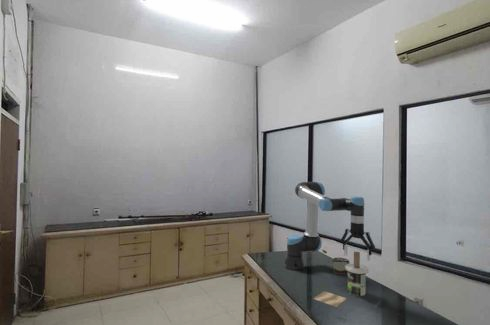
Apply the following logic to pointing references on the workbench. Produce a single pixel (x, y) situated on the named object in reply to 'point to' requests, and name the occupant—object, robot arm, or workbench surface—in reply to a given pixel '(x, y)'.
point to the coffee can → (356, 284)
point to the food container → (340, 265)
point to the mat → (330, 298)
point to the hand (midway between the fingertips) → (356, 257)
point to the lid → (356, 265)
